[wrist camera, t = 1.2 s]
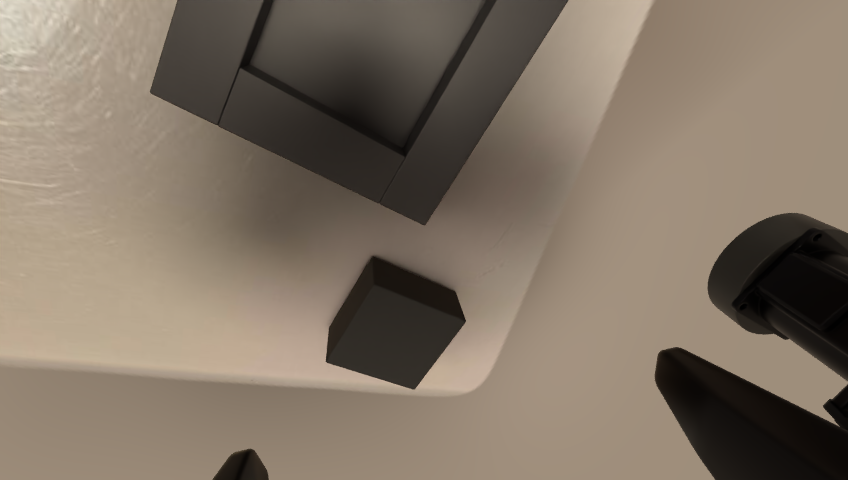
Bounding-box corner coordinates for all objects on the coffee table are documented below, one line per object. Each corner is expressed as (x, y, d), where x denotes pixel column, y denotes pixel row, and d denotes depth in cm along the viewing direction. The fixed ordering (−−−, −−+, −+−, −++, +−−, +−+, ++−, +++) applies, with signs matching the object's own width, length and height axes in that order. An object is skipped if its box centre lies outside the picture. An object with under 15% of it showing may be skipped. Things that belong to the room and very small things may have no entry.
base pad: (565, -27, 17) (590, -34, 15) (419, 209, 21) (425, 226, 19) (285, -270, 13) (273, -320, 11) (171, 85, 17) (148, 93, 15)
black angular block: (455, 291, 24) (466, 321, 22) (409, 356, 26) (414, 390, 23) (372, 255, 22) (373, 284, 20) (328, 328, 24) (325, 362, 22)
